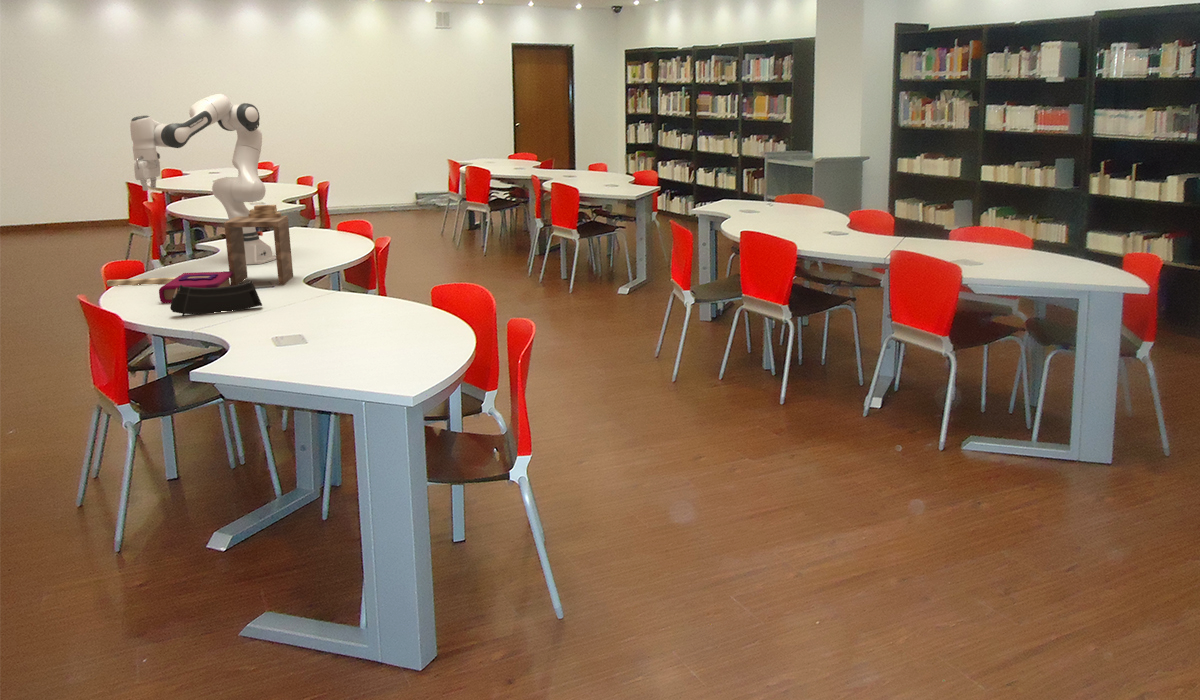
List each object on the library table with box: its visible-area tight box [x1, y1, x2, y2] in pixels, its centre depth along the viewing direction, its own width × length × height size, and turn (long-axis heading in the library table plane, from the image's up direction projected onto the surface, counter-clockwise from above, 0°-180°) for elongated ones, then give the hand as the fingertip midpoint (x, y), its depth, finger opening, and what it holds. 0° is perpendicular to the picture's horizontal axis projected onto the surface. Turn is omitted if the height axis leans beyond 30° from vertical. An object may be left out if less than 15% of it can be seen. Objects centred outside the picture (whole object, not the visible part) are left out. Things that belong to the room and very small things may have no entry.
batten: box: [106, 276, 178, 287], centre depth 398 cm, size 28×3×2 cm, turn 100°
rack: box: [223, 204, 294, 286], centre depth 399 cm, size 21×19×31 cm
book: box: [158, 270, 234, 304], centre depth 376 cm, size 21×28×8 cm
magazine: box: [169, 280, 263, 317], centre depth 346 cm, size 17×3×30 cm
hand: (149, 189), depth 406 cm, fingers open, 8 cm apart
